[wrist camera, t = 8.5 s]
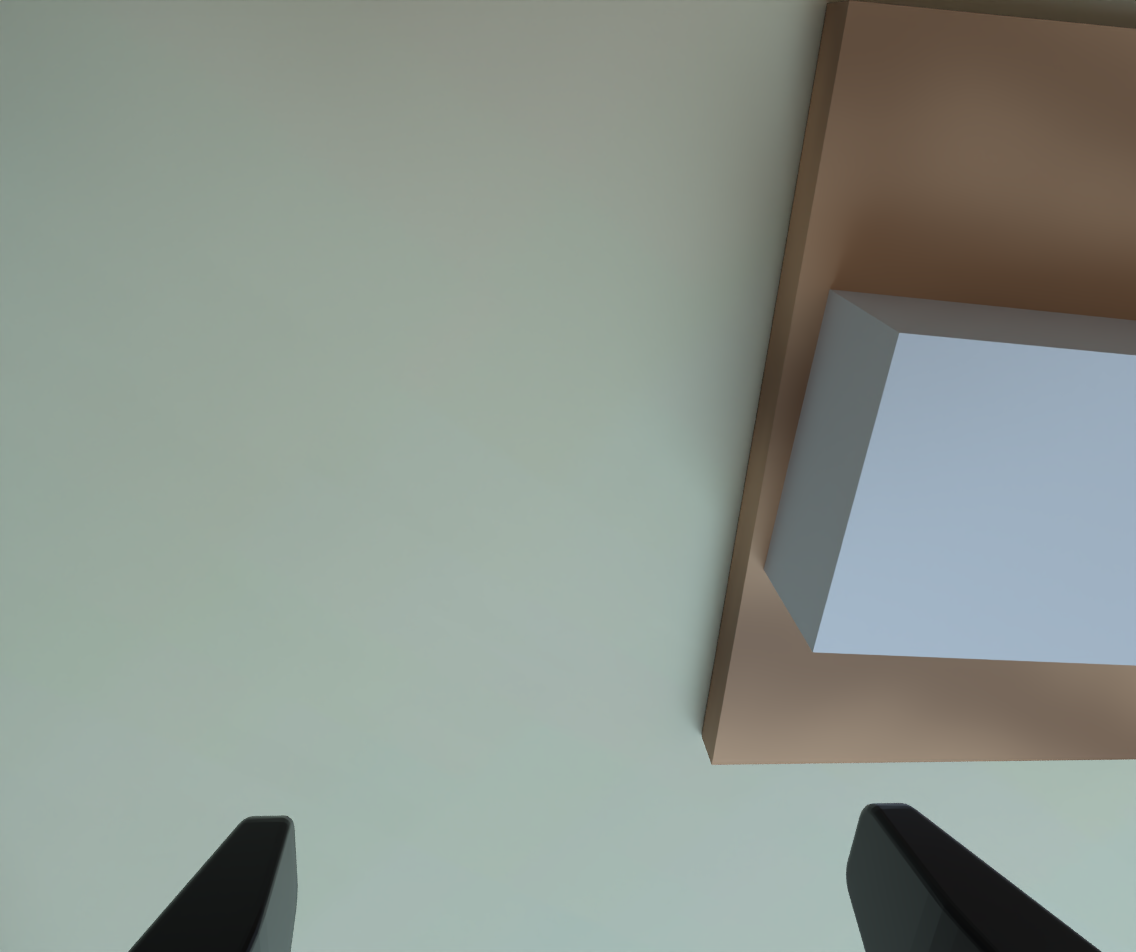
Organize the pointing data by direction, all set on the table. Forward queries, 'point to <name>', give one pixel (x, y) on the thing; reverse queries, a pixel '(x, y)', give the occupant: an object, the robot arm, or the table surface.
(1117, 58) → the board
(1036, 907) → the robot arm
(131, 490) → the table surface
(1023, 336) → the blue-grey rectangular block
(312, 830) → the table surface
